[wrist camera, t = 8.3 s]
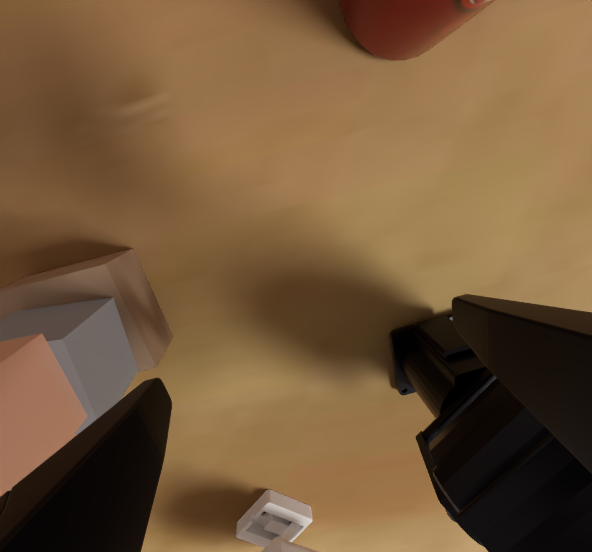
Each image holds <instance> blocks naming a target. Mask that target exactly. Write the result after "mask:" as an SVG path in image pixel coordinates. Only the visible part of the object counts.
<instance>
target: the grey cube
mask: <svg viewBox="0 0 592 552" xmlns="http://www.w3.org/2000/svg"><path fill="white" fill-rule="evenodd" d="M40 333H42V334H43V336H44V337H45V339H46V341H47V343H48V345H49V346H50V348H51V350H52V352H53V354H54V356H55V357H56V359H57V361H58V363H59V365H60V366H61V368H62V370H63V372H64V374H65V376H66V377H67V379H68V381H69V383H70V385H71V387H72V388H73V390H74V392H75V394H76V396H77V397H78V399H79V401H80V403H81V405H82V407H83V408H84V410H85V412H86V414H87V418H86V419H85V420H84V422H83V423H82V425H81V426H80V427H79V429H78V430H77V432H76V433H75V434H79V433H80V432H82V431H83V430H84V429H85V428H86V427H88V426H89V425H90V424H91V423H93V422H94V421H95V420H96V419H98V418H99V417H100V416H101V415H103V414H104V413H105V412H106V411H108V410H109V409H110V408H111V407H113V406H114V405H115V404H116V403H118V402H119V401H120V399H121V398H122V396H123V395H124V393H125V391H126V390H127V388H128V387H129V385H130V383H131V382H132V380H133V379H134V377H135V375H136V374H137V372H138V368H137V365H136V362H135V359H134V356H133V353H132V350H131V347H130V345H129V342H128V339H127V336H126V333H125V330H124V327H123V324H122V321H121V319H120V316H119V313H118V310H117V307H116V304H115V301H114V298H106V299H98V300H91V301H84V302H77V303H70V304H62V305H55V306H48V307H41V308H34V309H27V310H19V311H17V312H16V313H14V314H12V315H10V316H8V317H7V318H5V319H3V320H1V321H0V342H2V341H7V340H12V339H16V338H21V337H26V336H31V335H35V334H40ZM75 434H74V435H75Z"/></svg>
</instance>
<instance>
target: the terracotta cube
mask: <svg viewBox="0 0 592 552" xmlns="http://www.w3.org/2000/svg"><path fill="white" fill-rule="evenodd" d="M86 418H87V414H86V412H85V410H84V408H83V407H82V405H81V403H80V401H79V399H78V397H77V396H76V394H75V392H74V390H73V388H72V387H71V385H70V383H69V381H68V379H67V377H66V376H65V374H64V372H63V370H62V368H61V366H60V365H59V363H58V361H57V359H56V357H55V356H54V354H53V352H52V350H51V348H50V346H49V345H48V343H47V341H46V339H45V337H44V336H43V334H42V333H40V334H35V335H31V336H26V337H21V338H16V339H12V340H7V341H2V342H0V497H1V496H2V495H3V494H4V493H6V492H7V491H9V490H11V489H12V487H13V486H14V485H16V484H17V483H18V482H19V481H21V480H22V479H23V478H24V477H26V476H27V475H28V474H29V473H31V472H32V471H33V470H34V469H36V468H37V467H38V466H39V465H40V464H42V463H43V462H44V461H45V460H47V459H48V458H49V457H50V456H52V455H53V454H54V453H55V452H57V451H58V450H59V449H60V448H62V447H63V446H64V445H65V444H67V443H68V442H69V441H70V440H71V439H72V437H73V436H74V434H75V433H76V432H77V430H78V429H79V427H80V426H81V425H82V423H83V422H84V420H85V419H86Z"/></svg>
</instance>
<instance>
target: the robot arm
mask: <svg viewBox="0 0 592 552" xmlns="http://www.w3.org/2000/svg"><path fill="white" fill-rule="evenodd" d="M396 335H398V337H396V338H395V336H396ZM390 341H391V349H392V356H393V363H394V370H395V378H396V385H397V390H398V392H399V393H400V394H401V395H407V394H410V393H414V392H417V394H418V395H419V396H420V398H421V399H422V400H423V402H424V403H425V404H426V406H427V407H428V409H429V410H430V411H431V413H432V414H433V415H434V417H435V418H436V419H435V420H434V421H433V422H432V423H431V424H430V425H429V426H428V427H427V428H426V429H425V430H424V431H423V432H422V431H421V432H420V433H419V434H418V435H417V436H416V440H417V443H418V445H419V448H420V451H421V454H422V457H423V459H424V462H425V465H426V468H427V470H428V473H429V476H430V478H431V481H432V484H433V487H434V489H435V492H436V495H437V497H438V500H439V501H440V503H441V504H442V505H443V506H444V508H445V509H446V512H447V514H448V516H449V517H450V518H451V519H452V520H453V521H454V522H457V523H458V524H459V526H460V527H461V528H462V529H463V530H464V531H465V532H466V533H467V534H468V535H469V536H470V537H471V538H472V539H474V540H475V541H476V542H477V543H478V544H480V545H482V546H484V547H485V548H486V549H487V550H488V552H592V313H591V312H585V311H578V310H571V309H564V308H558V307H551V306H544V305H537V304H531V303H524V302H517V301H510V300H504V299H497V298H490V297H483V296H477V295H470V294H465V295H461V296H457V297H454V298H453V300H452V314H451V315H447V316H442V317H438V318H434V319H431V320H427V321H423V322H420V323H417V324H414V325H411V326H407V327H403V328H400V329H396V330H393V331H392V332H391V334H390ZM404 388H405V389H404ZM402 389H403V390H402ZM171 410H172V401H171V398H170V396H169V394H168V392H167V390H166V388H165V386H164V384H163V382H162V380H161V379H160V378H154V379H150V380H146V381H144V382H142V383H141V384H140V385H139V386H137V387H136V388H135V389H134V390H132V391H131V392H130V393H129V394H128V395H126V396H125V397H124V398H123V399H121V400H120V401H119V402H118V403H116V404H115V405H114V406H113V407H111V408H110V409H109V410H108V411H106V412H105V413H104V414H103V415H101V416H100V417H99V418H98V419H96V420H95V421H94V422H93V423H91V424H90V425H89V426H88V427H86V428H85V429H84V430H83V431H82V432H80V433H79V434H78V435H77V436H75V437H74V438H73V439H72V440H70V441H69V442H68V443H67V444H65V445H64V446H63V447H62V448H60V449H59V450H58V451H57V452H55V453H54V454H53V455H52V456H50V457H49V458H48V459H47V460H45V461H44V462H43V463H42V464H40V465H39V466H38V467H37V468H36V469H34V470H33V471H32V472H31V473H29V474H28V475H27V476H26V477H24V478H23V479H22V480H21V481H19V482H18V483H17V484H16V485H14V486H13V487H12V489H11V490H9V491H7V492H6V493H4V494H3V495H2V496H1V497H0V552H141V549H142V545H143V541H144V537H145V533H146V529H147V525H148V521H149V517H150V513H151V509H152V505H153V501H154V497H155V494H156V490H157V486H158V482H159V478H160V474H161V470H162V466H163V461H164V456H165V451H166V444H167V437H168V430H169V424H170V417H171Z"/></svg>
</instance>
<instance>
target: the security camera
mask: <svg viewBox="0 0 592 552" xmlns="http://www.w3.org/2000/svg"><path fill="white" fill-rule="evenodd" d="M264 511H265V512H266V513H263V512H264ZM312 521H313V520H312V513H311V507H310V506H309V505H307V504H304V503H302V502H299V501H297V500H295V499H292V498H290V497H287V496H285V495H282V494H280V493H278V492H275V491H273V490H270V489H268V490H266V491H265V492H264V493H263V494H262V496H261V497H260V498H259V499H258V500H257V501H256V502H255V503H254V504H253V505H252V506H251V507H250V509H249V510H248V511H247V512H246V513H245V514H244V515H243V516H242V517H241V518H240V519H239V520H238V522H237V532H236V538H238V539H241V540H244V541H247V542H250V543H253V544H256V545H259V546H262V547H265V549H264V550H263V551H262V552H317V551H314V550H312V549H309V548H306V547H303V546H300V545H298V544H295V543H292V541H293V540H294V539H295V538H296V537H297V536H298V535H299V534H300V533H301V532H302V531H303V530H304V529H305V528H306V527H307V526H308V525H309V524H310V523H311V522H312Z"/></svg>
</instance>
